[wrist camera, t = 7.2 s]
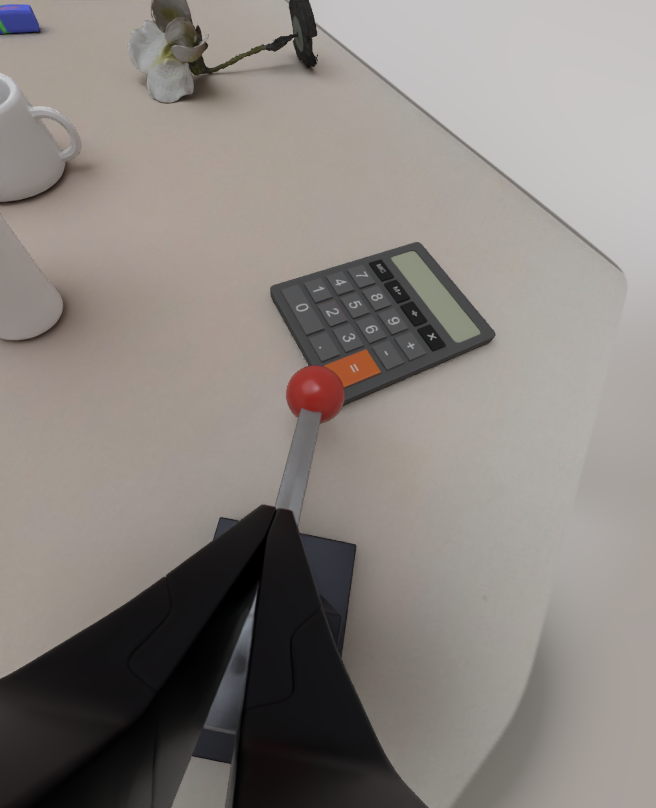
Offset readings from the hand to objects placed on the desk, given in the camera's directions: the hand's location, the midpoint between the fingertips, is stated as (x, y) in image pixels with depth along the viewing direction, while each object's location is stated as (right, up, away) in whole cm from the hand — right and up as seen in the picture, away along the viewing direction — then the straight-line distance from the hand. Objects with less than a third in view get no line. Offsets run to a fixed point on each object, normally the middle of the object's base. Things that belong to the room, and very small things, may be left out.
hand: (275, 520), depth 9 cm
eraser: (-39, +50, +34) cm, 72 cm away
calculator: (+6, +10, +19) cm, 23 cm away
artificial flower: (-10, +44, +34) cm, 57 cm away
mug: (-27, +25, +23) cm, 44 cm away
